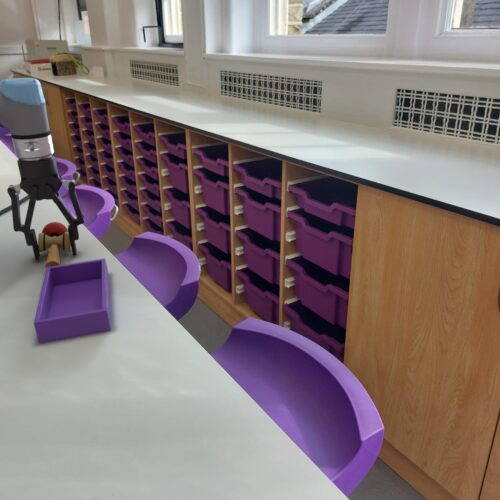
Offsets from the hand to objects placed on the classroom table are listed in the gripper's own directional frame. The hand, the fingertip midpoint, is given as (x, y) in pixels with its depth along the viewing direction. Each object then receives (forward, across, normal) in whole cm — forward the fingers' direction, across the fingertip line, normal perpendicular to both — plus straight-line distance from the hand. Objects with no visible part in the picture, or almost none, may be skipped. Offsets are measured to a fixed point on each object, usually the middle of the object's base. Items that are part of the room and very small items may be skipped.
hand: (56, 255), depth 111 cm
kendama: (+1, 0, 0) cm, 1 cm away
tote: (+1, +6, -24) cm, 25 cm away
